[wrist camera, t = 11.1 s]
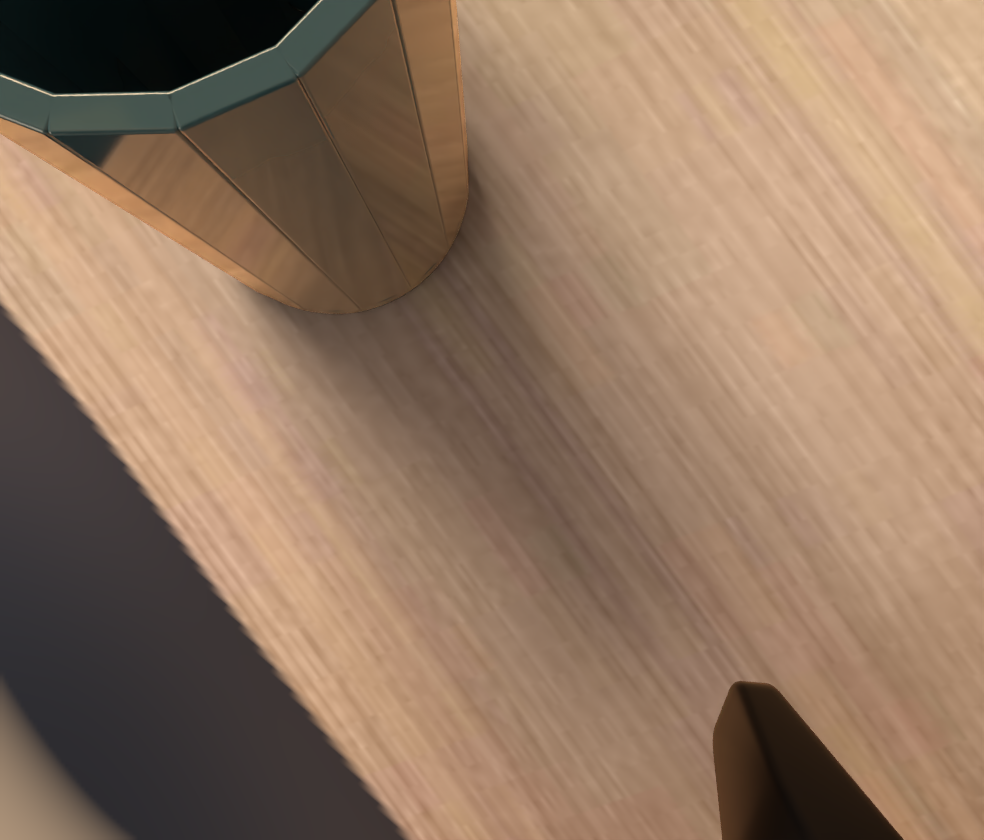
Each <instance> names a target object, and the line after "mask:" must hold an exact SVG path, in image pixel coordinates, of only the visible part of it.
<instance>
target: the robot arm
mask: <svg viewBox="0 0 984 840" xmlns="http://www.w3.org/2000/svg"><path fill="white" fill-rule="evenodd" d="M713 754H714V763H715V773H716V782H717V792H718V802H719V811H720V821H721V830H722V840H903V838H902V837H901V836H900V835H899V834H898V832H897V831H896V830H895V829H894V828H893V826H892V825H891V824H890V823H889V822H888V820H887V819H886V818H885V817H884V816H883V815H882V813H881V812H880V811H879V810H878V809H877V807H876V806H875V805H874V804H873V803H872V801H871V800H870V799H869V798H868V797H867V795H866V794H865V793H864V792H863V791H862V790H861V788H860V787H859V786H858V785H857V784H856V782H855V781H854V780H853V779H852V778H851V776H850V775H849V774H848V773H847V772H846V770H845V769H844V768H843V767H842V766H841V764H840V763H839V762H838V761H837V760H836V759H835V757H834V756H833V755H832V754H831V753H830V751H829V750H828V749H827V748H826V747H825V745H824V744H823V743H822V742H821V741H820V739H819V738H818V737H817V736H816V735H815V733H814V732H813V731H812V730H811V729H810V728H809V726H808V725H807V724H806V723H805V722H804V720H803V719H802V718H801V717H800V716H799V714H798V713H797V712H796V711H795V710H794V708H793V707H792V706H791V705H790V704H789V703H788V701H787V700H786V699H785V698H784V697H783V695H782V694H781V693H780V692H779V691H778V690H777V689H776V688H775V687H774V686H772V685H770V684H767V683H758V682H745V681H738V682H735V683H734V684H733V685H732V686H731V688H730V690H729V692H728V695H727V697H726V700H725V702H724V705H723V707H722V710H721V712H720V715H719V717H718V720H717V722H716V725H715V728H714V733H713Z"/></svg>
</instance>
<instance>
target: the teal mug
mask: <svg viewBox="0 0 984 840" xmlns="http://www.w3.org/2000/svg"><path fill="white" fill-rule="evenodd" d="M0 134H1V135H3V136H5V137H6V138H8V139H10V140H11V141H13V142H14V143H16V144H18V145H19V146H21V147H23V148H24V149H26V150H27V151H29V152H31V153H32V154H34V155H36V156H37V157H39V158H40V159H42V160H44V161H45V162H47V163H49V164H50V165H52V166H53V167H55V168H57V169H58V170H60V171H62V172H63V173H65V174H66V175H68V176H70V177H71V178H73V179H75V180H76V181H78V182H79V183H81V184H83V185H84V186H86V187H88V188H89V189H91V190H92V191H94V192H96V193H97V194H99V195H100V196H102V197H104V198H105V199H107V200H109V201H110V202H112V203H113V204H115V205H117V206H118V207H120V208H122V209H123V210H125V211H126V212H128V213H130V214H131V215H133V216H135V217H136V218H138V219H139V220H141V221H143V222H144V223H146V224H148V225H149V226H151V227H152V228H154V229H156V230H157V231H159V232H161V233H162V234H164V235H165V236H167V237H169V238H170V239H172V240H174V241H175V242H177V243H178V244H180V245H182V246H183V247H185V248H187V249H188V250H190V251H191V252H193V253H195V254H196V255H198V256H200V257H201V258H203V259H204V260H206V261H208V262H209V263H211V264H213V265H214V266H216V267H217V268H219V269H221V270H222V271H224V272H226V273H227V274H229V275H230V276H232V277H234V278H235V279H237V280H239V281H240V282H242V283H243V284H245V285H247V286H248V287H250V288H251V289H253V290H255V291H256V292H258V293H261V294H263V295H266V296H268V297H271V298H273V299H275V300H277V301H279V302H281V303H283V304H286V305H288V306H291V307H295V308H298V309H301V310H304V311H310V312H316V313H325V314H345V313H356V312H360V311H365V310H369V309H373V308H376V307H379V306H382V305H384V304H387V303H390V302H392V301H393V300H395V299H397V298H399V297H401V296H403V295H405V294H406V293H408V292H409V291H411V290H412V289H413V288H415V287H416V286H418V285H419V284H420V283H421V282H422V281H424V280H425V279H426V278H427V277H428V276H429V275H430V274H431V273H432V272H433V271H434V270H435V269H436V267H437V266H438V265H439V264H440V263H441V261H442V260H443V259H444V257H445V256H446V254H447V253H448V251H449V249H450V248H451V246H452V245H453V242H454V240H455V238H456V236H457V234H458V232H459V230H460V227H461V223H462V220H463V217H464V214H465V209H466V204H467V201H468V196H469V192H468V182H469V177H468V147H467V134H466V121H465V109H464V96H463V83H462V70H461V58H460V45H459V32H458V20H457V7H456V0H0Z"/></svg>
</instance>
